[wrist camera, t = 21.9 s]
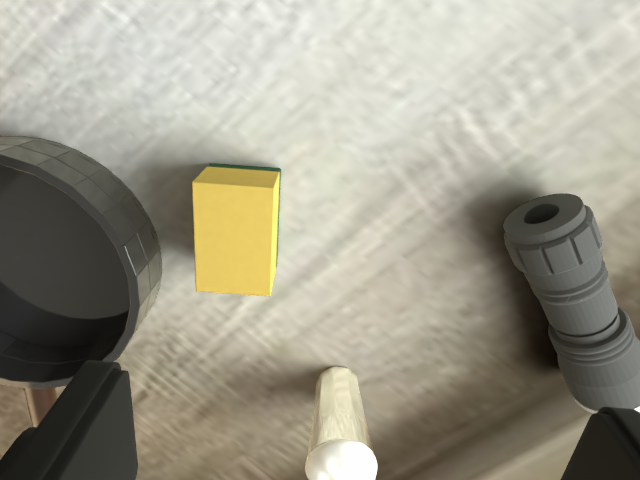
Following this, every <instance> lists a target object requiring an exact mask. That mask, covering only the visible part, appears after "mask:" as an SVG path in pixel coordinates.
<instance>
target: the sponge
mask: <svg viewBox="0 0 640 480" xmlns="http://www.w3.org/2000/svg"><path fill="white" fill-rule="evenodd" d="M280 177H281V169H280V168H266V167H252V166H239V165H225V164H212V163H210V164H209V165H208V166H207V167H206V168H205V169H204V170H203V171H202V172H201V173H200V174H199V175H198V176H197V177H196V179H195V180H194V181H193V182H192V196H193V223H194V250H195V277H196V291H199V292H214V293H229V294H244V295H259V296H270V295H271V291H272V286H273V281H274V276H275V272H276V267H277V250H278V226H279V201H280Z"/></svg>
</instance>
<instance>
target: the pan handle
mask: <svg viewBox="0 0 640 480" xmlns="http://www.w3.org/2000/svg"><path fill="white" fill-rule="evenodd" d="M24 391H25V395H26V400H27V404H28V409H29V413H30V417H31V422H32V426H33V427H37V426H38V425H39V424H40V422H41V421H42V419H43V418H44V417H45V415H46V414H47V413H48V411H49V410H50V408H51V407H52V406H53V404H54V403H55V402H56V400H57V396H56V391H55V387H54V388H47V389H34V388H24Z"/></svg>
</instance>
